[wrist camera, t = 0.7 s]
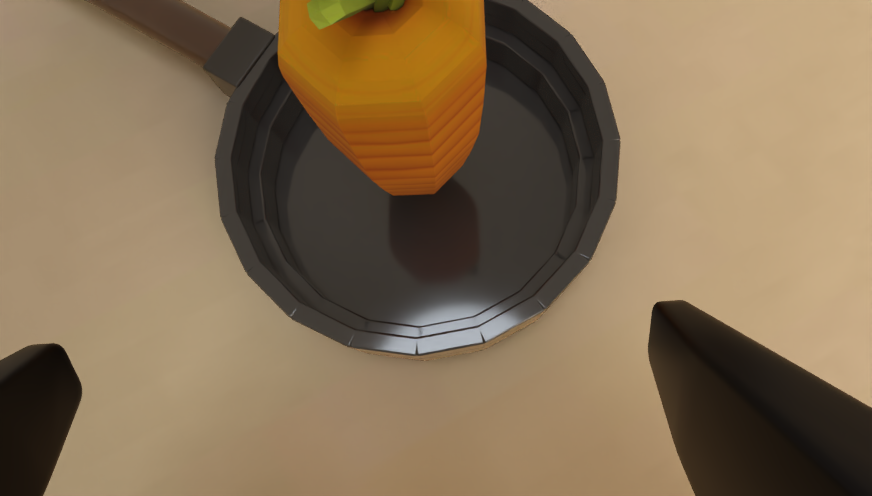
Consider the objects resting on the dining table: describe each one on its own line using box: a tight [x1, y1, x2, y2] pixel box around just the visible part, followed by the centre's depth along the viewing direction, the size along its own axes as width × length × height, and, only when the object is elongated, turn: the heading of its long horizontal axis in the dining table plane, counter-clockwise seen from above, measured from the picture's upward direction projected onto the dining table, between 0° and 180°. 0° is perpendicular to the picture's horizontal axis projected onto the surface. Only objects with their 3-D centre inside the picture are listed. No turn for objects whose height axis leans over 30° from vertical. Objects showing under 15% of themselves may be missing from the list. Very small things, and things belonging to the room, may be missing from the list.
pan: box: [215, 0, 620, 361], centre depth 22 cm, size 14×14×4 cm
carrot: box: [278, 0, 487, 196], centre depth 16 cm, size 5×5×15 cm
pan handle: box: [86, 0, 275, 97], centre depth 23 cm, size 12×2×2 cm, turn 58°
